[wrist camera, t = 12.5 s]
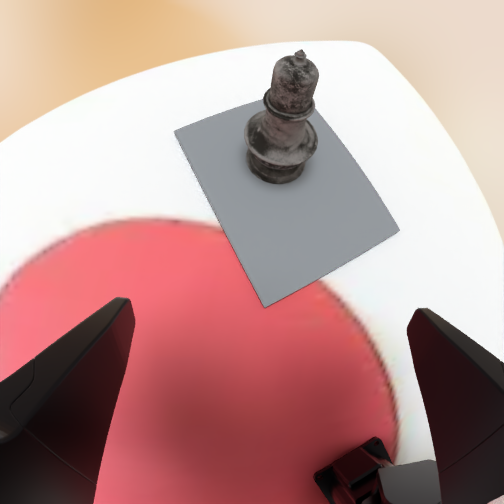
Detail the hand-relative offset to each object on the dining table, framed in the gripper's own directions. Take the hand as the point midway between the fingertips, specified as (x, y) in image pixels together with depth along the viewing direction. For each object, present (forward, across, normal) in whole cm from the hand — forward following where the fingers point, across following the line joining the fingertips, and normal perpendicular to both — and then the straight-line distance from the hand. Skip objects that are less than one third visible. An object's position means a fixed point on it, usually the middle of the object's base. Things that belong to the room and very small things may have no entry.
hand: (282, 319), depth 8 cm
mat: (+18, -2, +1) cm, 19 cm away
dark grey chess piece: (+20, -1, -1) cm, 20 cm away
